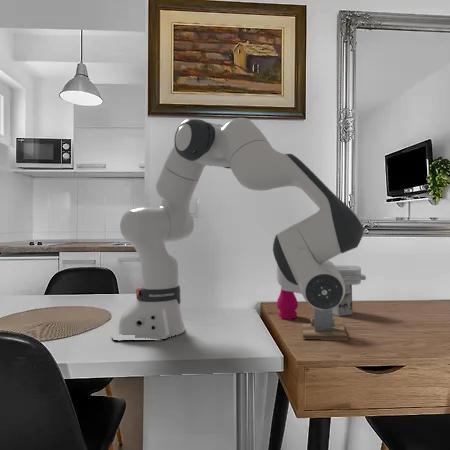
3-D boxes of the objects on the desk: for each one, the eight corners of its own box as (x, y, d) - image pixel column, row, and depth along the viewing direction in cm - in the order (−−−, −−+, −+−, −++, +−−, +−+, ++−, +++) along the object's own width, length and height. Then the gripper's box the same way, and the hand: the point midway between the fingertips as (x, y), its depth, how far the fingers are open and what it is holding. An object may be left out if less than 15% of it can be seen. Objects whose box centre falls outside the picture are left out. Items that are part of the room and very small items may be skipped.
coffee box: (353, 314, 133) (352, 268, 133) (338, 316, 131) (337, 269, 130) (336, 309, 141) (335, 265, 141) (322, 311, 139) (321, 267, 139)
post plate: (347, 340, 105) (346, 321, 105) (303, 339, 107) (302, 321, 107) (342, 328, 117) (341, 311, 117) (302, 327, 119) (302, 310, 119)
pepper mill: (298, 320, 128) (296, 260, 127) (276, 319, 129) (274, 261, 129) (298, 314, 135) (296, 258, 135) (277, 314, 136) (276, 258, 136)
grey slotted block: (332, 332, 109) (331, 297, 109) (315, 331, 110) (314, 297, 110) (330, 324, 117) (329, 292, 117) (313, 324, 118) (312, 292, 118)
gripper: (367, 265, 84) (357, 257, 98) (275, 263, 88) (277, 256, 102) (367, 293, 84) (357, 282, 98) (275, 290, 88) (277, 279, 102)
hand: (316, 269), depth 100 cm, fingers open, 8 cm apart
